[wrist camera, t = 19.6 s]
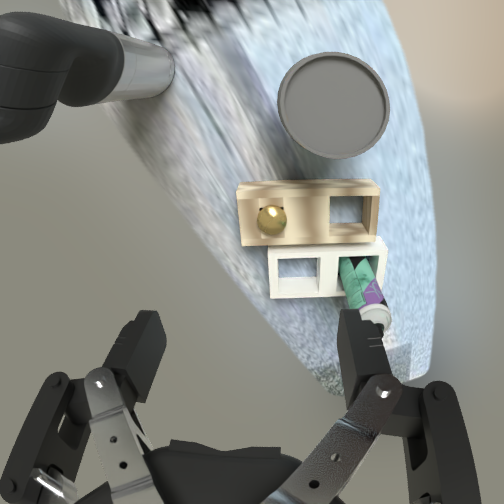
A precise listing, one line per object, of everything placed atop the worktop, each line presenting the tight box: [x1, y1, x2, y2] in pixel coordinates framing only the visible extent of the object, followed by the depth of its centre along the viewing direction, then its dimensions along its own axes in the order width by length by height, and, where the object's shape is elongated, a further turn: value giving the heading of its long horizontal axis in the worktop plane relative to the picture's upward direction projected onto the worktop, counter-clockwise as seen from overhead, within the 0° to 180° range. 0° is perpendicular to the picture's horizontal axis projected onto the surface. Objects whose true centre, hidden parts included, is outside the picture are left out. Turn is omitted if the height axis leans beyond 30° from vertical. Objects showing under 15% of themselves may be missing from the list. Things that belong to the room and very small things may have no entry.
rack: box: [268, 236, 388, 299], centre depth 52 cm, size 20×9×5 cm, turn 95°
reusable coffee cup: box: [277, 52, 390, 159], centre depth 35 cm, size 12×13×15 cm
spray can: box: [338, 256, 392, 339], centre depth 45 cm, size 6×6×20 cm
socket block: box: [236, 179, 380, 246], centre depth 48 cm, size 22×9×5 cm, turn 95°
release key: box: [257, 205, 287, 235], centre depth 48 cm, size 4×4×6 cm
